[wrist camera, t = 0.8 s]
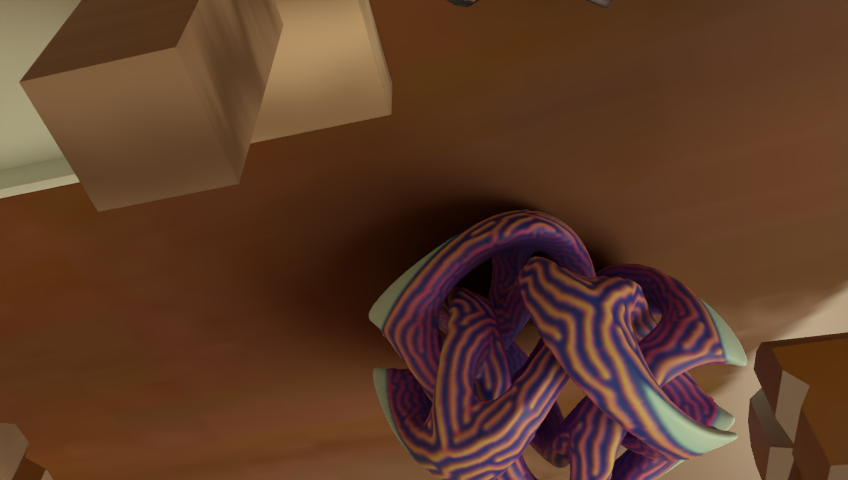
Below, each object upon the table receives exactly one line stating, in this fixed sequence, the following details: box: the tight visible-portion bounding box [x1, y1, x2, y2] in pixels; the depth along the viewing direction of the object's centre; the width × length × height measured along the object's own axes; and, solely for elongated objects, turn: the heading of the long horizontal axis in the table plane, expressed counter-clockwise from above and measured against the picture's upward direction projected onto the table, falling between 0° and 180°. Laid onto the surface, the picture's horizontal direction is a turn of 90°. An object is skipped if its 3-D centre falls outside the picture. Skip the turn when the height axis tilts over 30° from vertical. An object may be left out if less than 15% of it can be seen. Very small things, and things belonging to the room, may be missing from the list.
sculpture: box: [369, 209, 747, 480], centre depth 44 cm, size 16×17×20 cm
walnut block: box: [19, 0, 283, 212], centre depth 30 cm, size 5×5×12 cm
